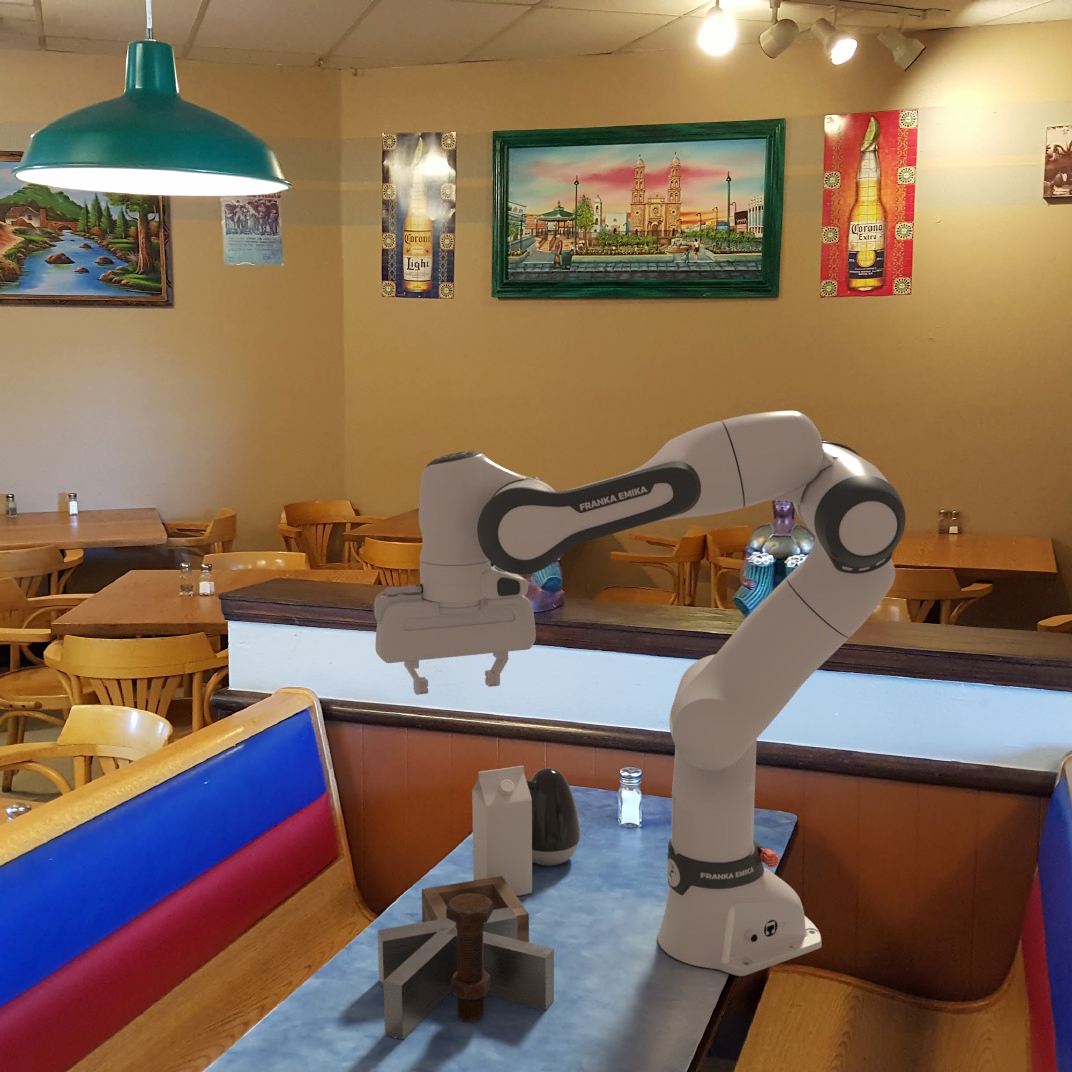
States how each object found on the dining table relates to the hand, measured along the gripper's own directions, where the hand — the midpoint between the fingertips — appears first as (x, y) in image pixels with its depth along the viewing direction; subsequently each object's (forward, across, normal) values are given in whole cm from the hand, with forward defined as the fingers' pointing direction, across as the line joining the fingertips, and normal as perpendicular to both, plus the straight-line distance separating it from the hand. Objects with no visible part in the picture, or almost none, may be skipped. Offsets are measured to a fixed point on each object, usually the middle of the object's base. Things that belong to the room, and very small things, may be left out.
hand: (457, 689), depth 143 cm
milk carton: (+39, +12, +20) cm, 45 cm away
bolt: (+39, -2, -11) cm, 40 cm away
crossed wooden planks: (+38, -2, -6) cm, 39 cm away
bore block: (+38, +4, +8) cm, 39 cm away
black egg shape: (+39, +23, +27) cm, 52 cm away
